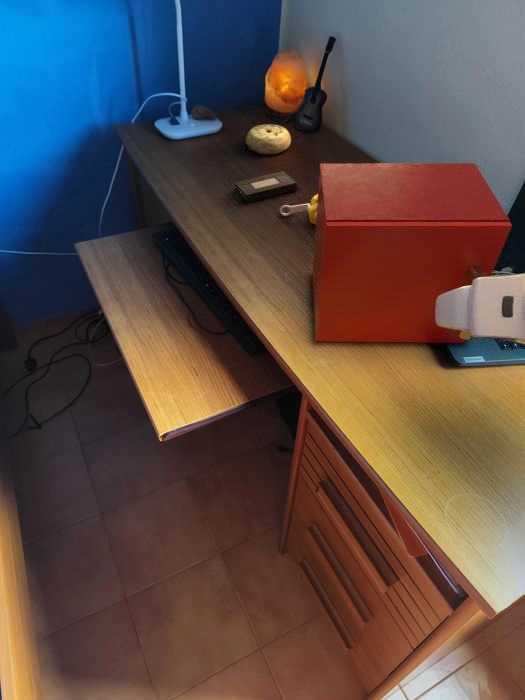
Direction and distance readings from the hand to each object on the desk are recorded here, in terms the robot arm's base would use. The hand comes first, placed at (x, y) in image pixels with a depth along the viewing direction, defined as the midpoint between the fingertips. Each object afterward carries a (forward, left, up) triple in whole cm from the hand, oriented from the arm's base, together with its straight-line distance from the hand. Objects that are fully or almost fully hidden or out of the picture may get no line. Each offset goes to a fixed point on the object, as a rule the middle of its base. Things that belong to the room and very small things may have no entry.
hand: (497, 314), depth 63 cm
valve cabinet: (+10, -21, -17) cm, 29 cm away
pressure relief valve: (+24, -52, -17) cm, 60 cm away
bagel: (+34, -94, -17) cm, 102 cm away
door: (+10, -9, -17) cm, 21 cm away
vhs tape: (+34, -67, -17) cm, 77 cm away
